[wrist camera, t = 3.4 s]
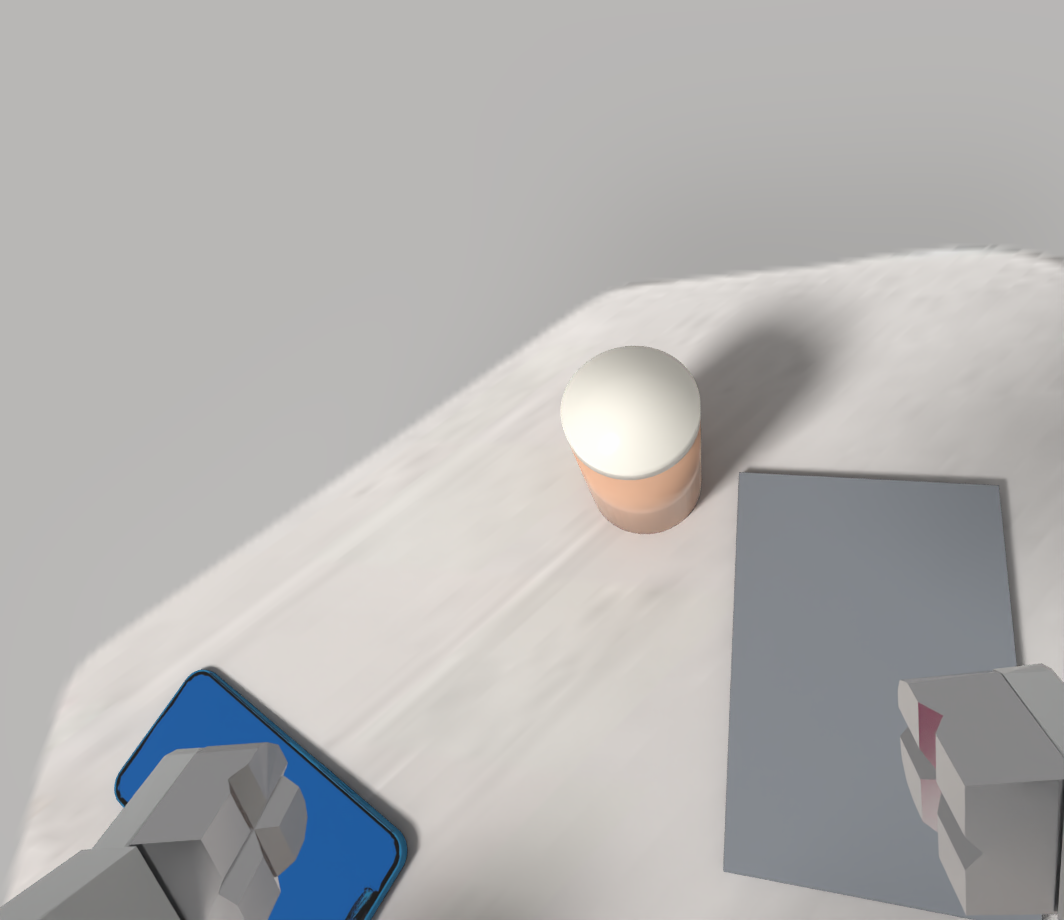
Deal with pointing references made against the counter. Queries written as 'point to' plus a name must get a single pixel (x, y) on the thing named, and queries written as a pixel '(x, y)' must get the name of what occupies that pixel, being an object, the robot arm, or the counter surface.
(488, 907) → the counter surface
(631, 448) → the terracotta jar
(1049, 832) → the robot arm
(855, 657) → the slate mat
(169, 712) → the smartphone
